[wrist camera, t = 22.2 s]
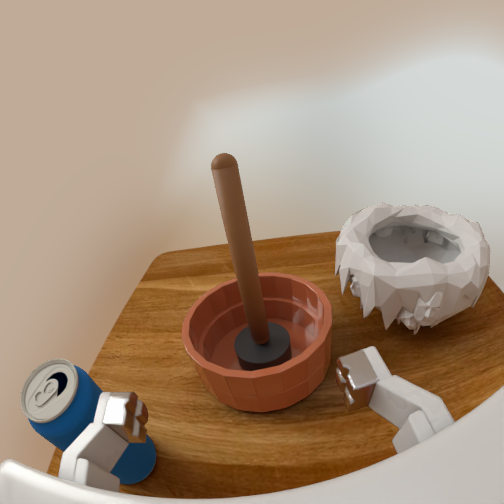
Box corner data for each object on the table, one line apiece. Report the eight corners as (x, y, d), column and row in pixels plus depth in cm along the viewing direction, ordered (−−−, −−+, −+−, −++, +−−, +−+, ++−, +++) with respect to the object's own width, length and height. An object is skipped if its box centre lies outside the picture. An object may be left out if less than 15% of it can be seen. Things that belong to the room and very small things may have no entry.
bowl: (496, 347, 19) (530, 274, 14) (331, 361, 25) (334, 283, 21) (449, 253, 36) (457, 196, 32) (335, 256, 43) (332, 196, 38)
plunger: (252, 385, 24) (190, 168, 14) (230, 349, 29) (175, 161, 19) (302, 360, 26) (278, 146, 16) (275, 329, 30) (243, 143, 21)
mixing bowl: (229, 437, 20) (208, 405, 17) (188, 343, 31) (169, 302, 28) (356, 368, 24) (364, 324, 21) (287, 301, 35) (282, 258, 32)
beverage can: (173, 453, 18) (97, 381, 13) (133, 498, 14) (34, 444, 8) (128, 420, 22) (60, 342, 16) (92, 458, 17) (8, 390, 11)
